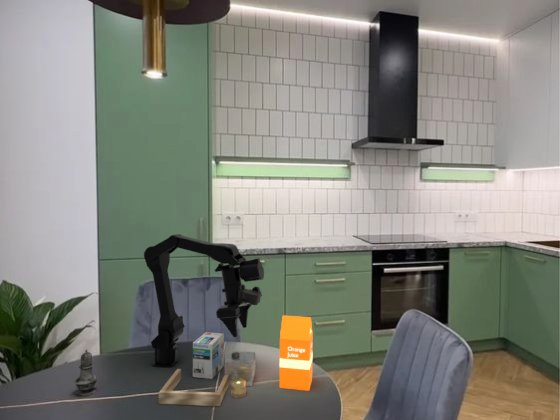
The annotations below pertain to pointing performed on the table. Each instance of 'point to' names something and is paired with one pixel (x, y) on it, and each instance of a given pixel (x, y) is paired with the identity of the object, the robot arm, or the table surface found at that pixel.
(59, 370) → the table surface
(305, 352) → the orange juice
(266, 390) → the table surface
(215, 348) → the light bulb box
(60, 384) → the table surface
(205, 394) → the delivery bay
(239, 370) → the grey cube with knob
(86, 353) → the grey chess piece
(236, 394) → the olive rounded piece
